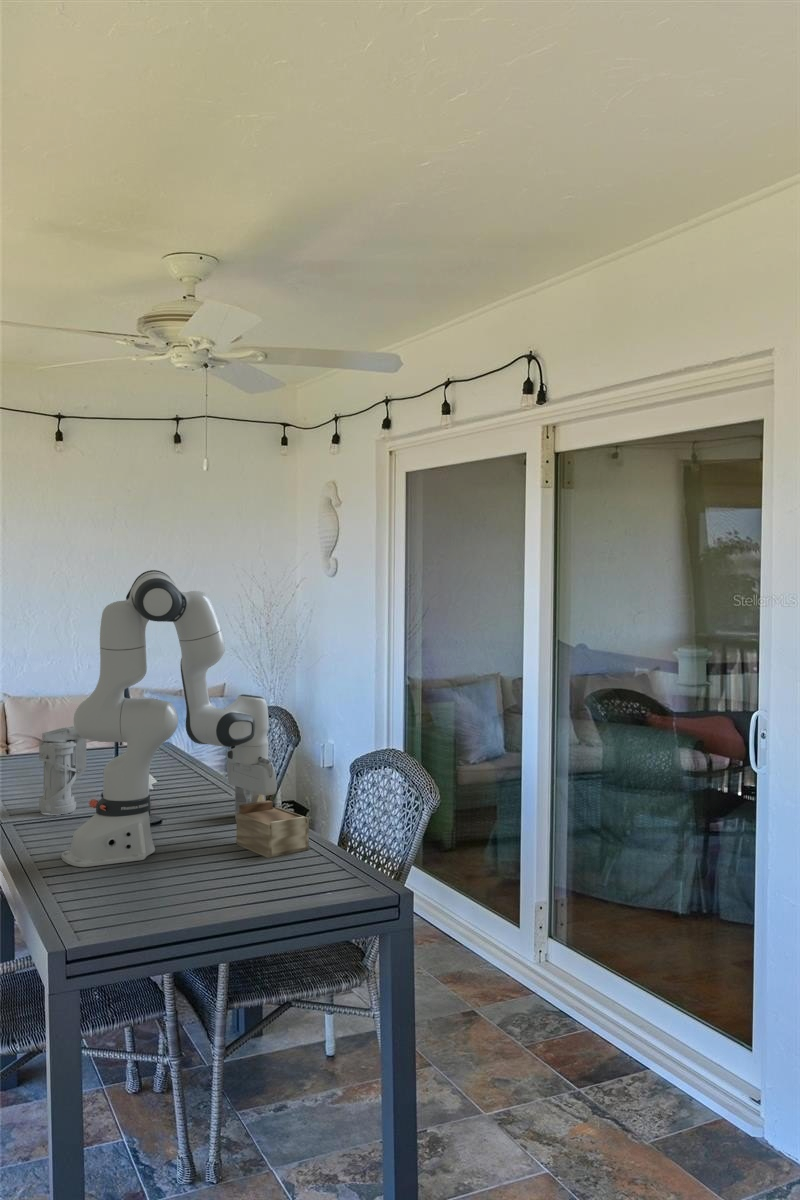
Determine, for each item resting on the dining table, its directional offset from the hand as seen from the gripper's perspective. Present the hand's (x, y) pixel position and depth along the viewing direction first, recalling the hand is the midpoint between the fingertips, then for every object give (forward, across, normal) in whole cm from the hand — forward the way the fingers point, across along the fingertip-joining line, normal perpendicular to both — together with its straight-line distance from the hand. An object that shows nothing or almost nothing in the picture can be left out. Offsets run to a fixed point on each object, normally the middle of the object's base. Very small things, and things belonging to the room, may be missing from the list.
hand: (251, 806), depth 261 cm
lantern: (+9, +62, +29) cm, 69 cm away
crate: (+9, -11, 0) cm, 14 cm away
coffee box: (+9, +21, -12) cm, 26 cm away
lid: (+1, -10, 0) cm, 10 cm away
